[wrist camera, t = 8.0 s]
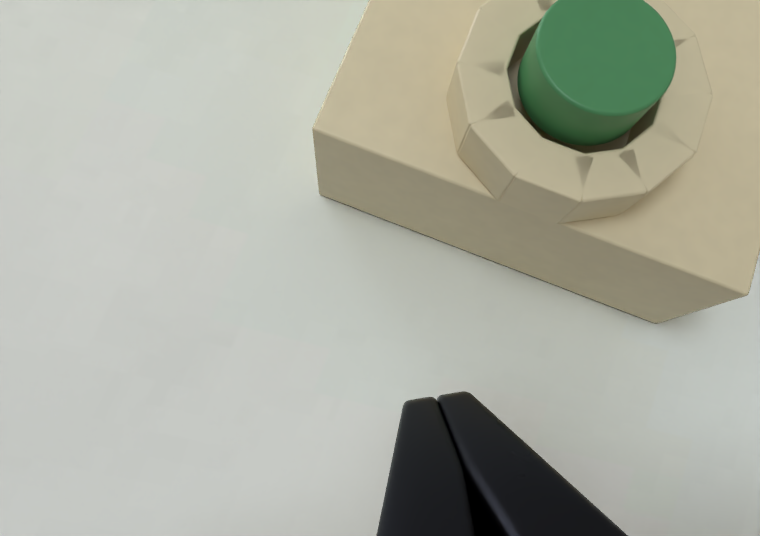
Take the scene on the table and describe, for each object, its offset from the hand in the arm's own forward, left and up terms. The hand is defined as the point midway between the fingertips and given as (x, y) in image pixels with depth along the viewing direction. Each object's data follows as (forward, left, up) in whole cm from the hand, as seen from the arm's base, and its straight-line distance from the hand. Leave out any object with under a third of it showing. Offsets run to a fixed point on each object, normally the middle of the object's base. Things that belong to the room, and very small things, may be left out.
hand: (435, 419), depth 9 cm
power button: (+9, -1, -6) cm, 11 cm away
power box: (+11, -1, -13) cm, 17 cm away
